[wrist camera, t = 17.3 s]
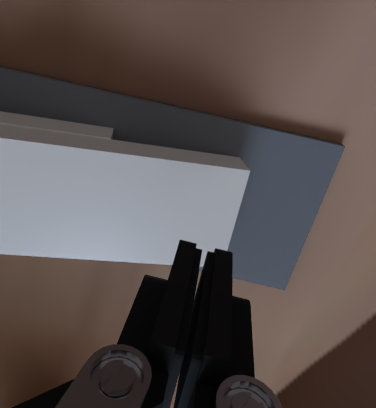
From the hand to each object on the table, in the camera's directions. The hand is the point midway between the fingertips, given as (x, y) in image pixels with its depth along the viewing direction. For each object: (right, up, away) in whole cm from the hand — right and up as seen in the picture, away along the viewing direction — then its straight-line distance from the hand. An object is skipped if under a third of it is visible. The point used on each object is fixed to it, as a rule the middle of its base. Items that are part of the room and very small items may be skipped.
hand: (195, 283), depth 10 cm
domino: (+2, +2, +5) cm, 5 cm away
